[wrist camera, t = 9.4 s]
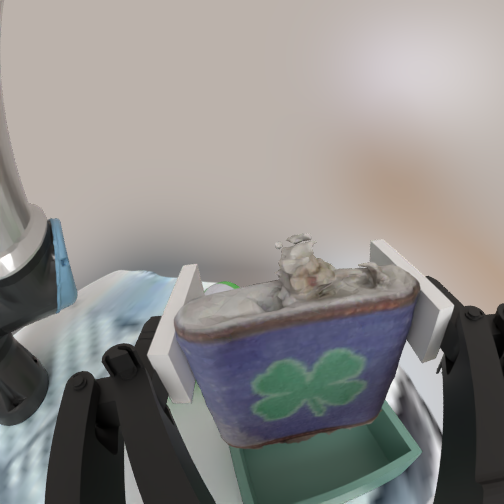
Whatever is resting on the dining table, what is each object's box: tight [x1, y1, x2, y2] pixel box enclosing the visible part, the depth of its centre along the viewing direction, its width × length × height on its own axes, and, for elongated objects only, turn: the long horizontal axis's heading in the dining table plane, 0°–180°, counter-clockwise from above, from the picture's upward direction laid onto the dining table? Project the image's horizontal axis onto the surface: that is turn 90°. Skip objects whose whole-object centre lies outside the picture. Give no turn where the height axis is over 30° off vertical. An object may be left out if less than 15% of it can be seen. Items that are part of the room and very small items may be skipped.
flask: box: [174, 234, 421, 450], centre depth 11 cm, size 9×3×11 cm, turn 94°
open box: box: [229, 400, 422, 504], centre depth 18 cm, size 10×13×6 cm
